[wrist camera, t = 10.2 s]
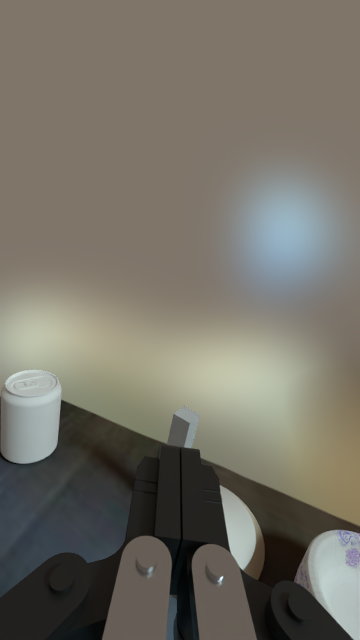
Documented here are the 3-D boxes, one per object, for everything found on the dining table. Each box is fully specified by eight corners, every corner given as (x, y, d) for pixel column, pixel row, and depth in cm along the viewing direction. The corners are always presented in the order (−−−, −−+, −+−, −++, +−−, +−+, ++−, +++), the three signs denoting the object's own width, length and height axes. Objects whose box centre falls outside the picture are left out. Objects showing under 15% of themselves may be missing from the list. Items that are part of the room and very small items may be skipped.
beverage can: (63, 456, 49) (69, 391, 45) (5, 474, 44) (6, 403, 40) (49, 425, 55) (53, 364, 51) (-4, 438, 50) (-4, 372, 46)
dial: (128, 527, 39) (146, 433, 34) (184, 468, 49) (203, 391, 45) (227, 613, 32) (265, 511, 28) (267, 523, 43) (299, 440, 38)
